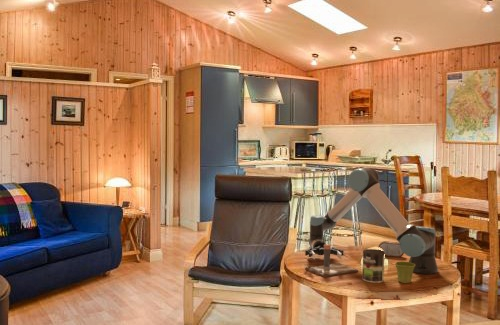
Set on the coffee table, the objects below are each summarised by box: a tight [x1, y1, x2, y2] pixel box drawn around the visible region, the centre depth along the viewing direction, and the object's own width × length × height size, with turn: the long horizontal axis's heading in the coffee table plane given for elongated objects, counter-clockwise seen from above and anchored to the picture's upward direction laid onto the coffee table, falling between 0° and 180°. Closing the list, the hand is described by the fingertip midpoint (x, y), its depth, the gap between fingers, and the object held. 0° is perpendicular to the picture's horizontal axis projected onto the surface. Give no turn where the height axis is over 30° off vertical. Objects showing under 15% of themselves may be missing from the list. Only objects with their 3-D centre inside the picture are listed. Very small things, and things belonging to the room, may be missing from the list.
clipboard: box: [304, 262, 359, 278], centre depth 256 cm, size 16×22×2 cm
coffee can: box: [361, 248, 385, 284], centre depth 241 cm, size 10×10×14 cm
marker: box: [323, 243, 332, 271], centre depth 253 cm, size 3×3×13 cm
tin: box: [378, 240, 405, 258], centre depth 290 cm, size 15×3×8 cm, turn 69°
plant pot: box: [394, 261, 415, 284], centre depth 239 cm, size 9×9×9 cm
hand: (327, 256), depth 251 cm, fingers open, 13 cm apart
